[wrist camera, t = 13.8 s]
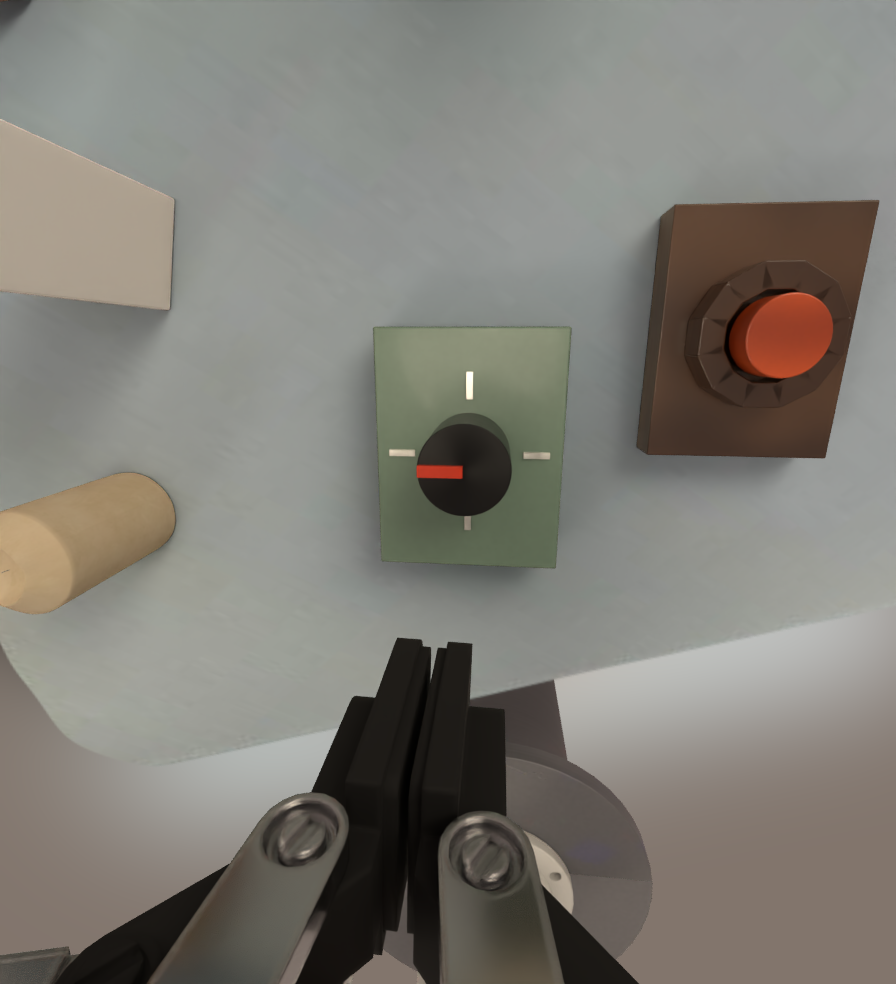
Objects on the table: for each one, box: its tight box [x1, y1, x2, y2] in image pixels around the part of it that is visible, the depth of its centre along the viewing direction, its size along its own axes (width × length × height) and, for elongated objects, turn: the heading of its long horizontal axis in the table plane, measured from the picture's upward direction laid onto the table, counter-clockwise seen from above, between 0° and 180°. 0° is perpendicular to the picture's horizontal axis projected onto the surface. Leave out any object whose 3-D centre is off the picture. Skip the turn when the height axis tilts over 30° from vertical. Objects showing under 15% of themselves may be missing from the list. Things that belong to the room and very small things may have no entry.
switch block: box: [637, 200, 879, 458], centre depth 25 cm, size 12×9×4 cm
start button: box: [729, 292, 833, 378], centre depth 23 cm, size 4×4×2 cm
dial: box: [416, 413, 512, 516], centre depth 25 cm, size 4×4×4 cm
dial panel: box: [373, 327, 571, 568], centre depth 29 cm, size 13×10×3 cm
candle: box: [0, 473, 175, 614], centre depth 29 cm, size 6×6×10 cm
